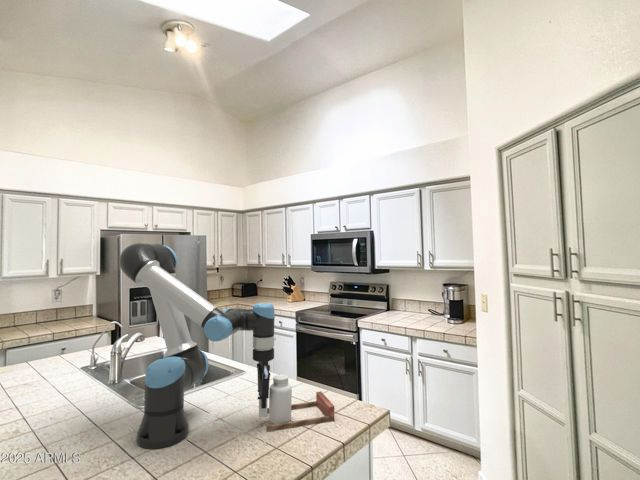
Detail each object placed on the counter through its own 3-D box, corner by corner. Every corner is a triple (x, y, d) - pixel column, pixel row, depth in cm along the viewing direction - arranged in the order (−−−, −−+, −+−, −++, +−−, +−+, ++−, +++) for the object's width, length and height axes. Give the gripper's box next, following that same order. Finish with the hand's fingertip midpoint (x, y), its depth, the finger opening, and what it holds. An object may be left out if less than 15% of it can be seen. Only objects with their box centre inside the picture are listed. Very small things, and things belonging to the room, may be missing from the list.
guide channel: (267, 431, 112) (267, 416, 112) (260, 413, 125) (260, 399, 125) (334, 420, 120) (334, 406, 120) (321, 404, 133) (321, 391, 133)
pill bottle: (280, 427, 115) (281, 382, 116) (264, 420, 120) (264, 377, 121) (295, 418, 121) (296, 376, 122) (279, 412, 126) (280, 371, 127)
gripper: (277, 351, 115) (277, 423, 114) (270, 342, 127) (270, 406, 126) (255, 353, 112) (254, 426, 111) (250, 344, 125) (249, 409, 123)
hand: (262, 416), depth 118 cm, fingers closed
